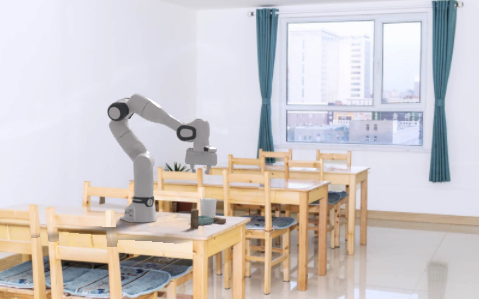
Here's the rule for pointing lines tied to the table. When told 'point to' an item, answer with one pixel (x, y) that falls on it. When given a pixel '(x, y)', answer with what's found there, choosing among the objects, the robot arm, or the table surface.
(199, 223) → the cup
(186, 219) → the table surface
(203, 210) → the white tapered container
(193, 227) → the stick
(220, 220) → the wick
